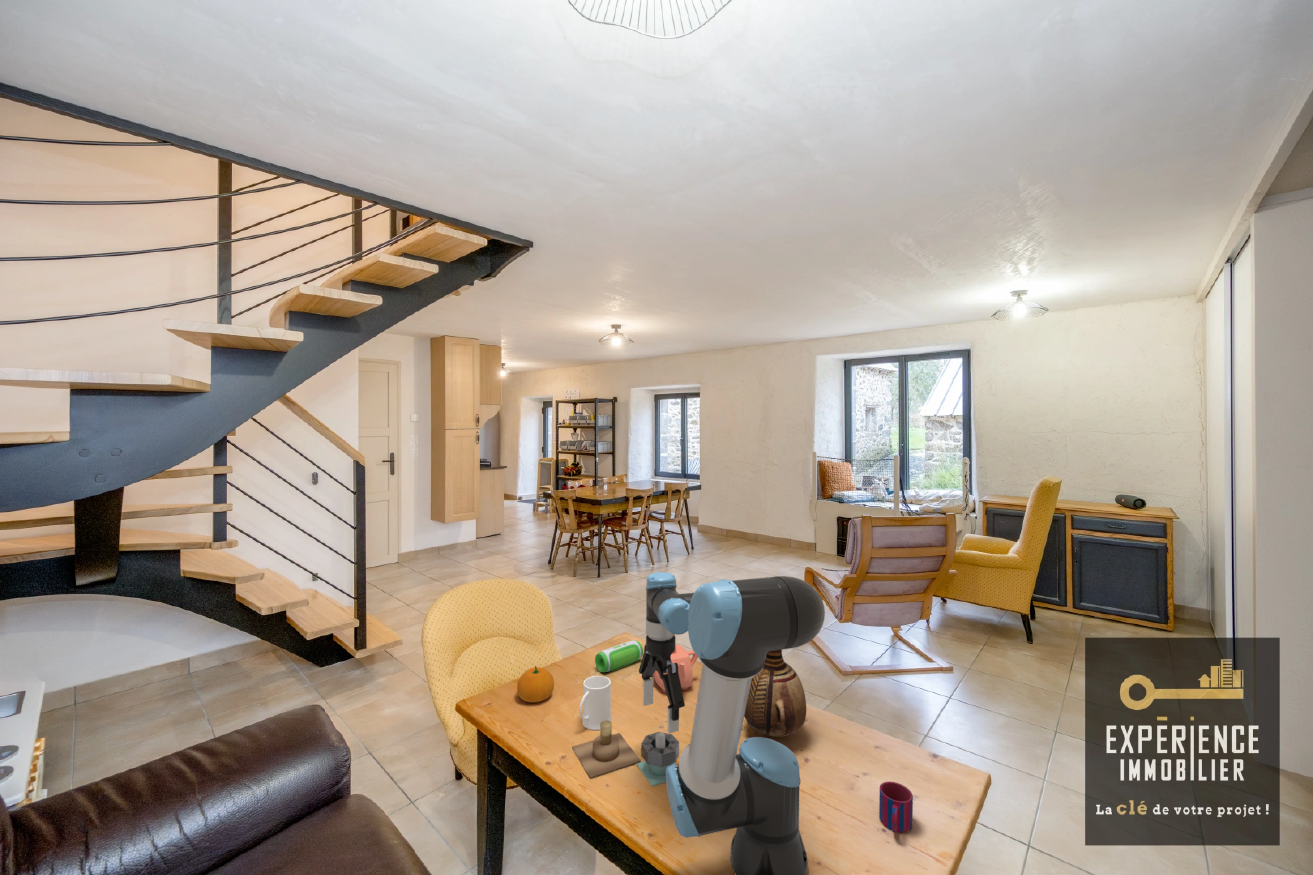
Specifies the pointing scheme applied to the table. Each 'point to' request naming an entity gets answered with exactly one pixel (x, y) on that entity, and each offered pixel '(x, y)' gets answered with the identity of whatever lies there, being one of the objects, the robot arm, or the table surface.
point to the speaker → (618, 656)
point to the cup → (896, 807)
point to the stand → (652, 772)
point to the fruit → (535, 685)
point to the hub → (605, 752)
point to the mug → (595, 702)
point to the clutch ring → (660, 750)
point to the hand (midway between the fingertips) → (660, 717)
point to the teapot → (680, 667)
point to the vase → (776, 698)
